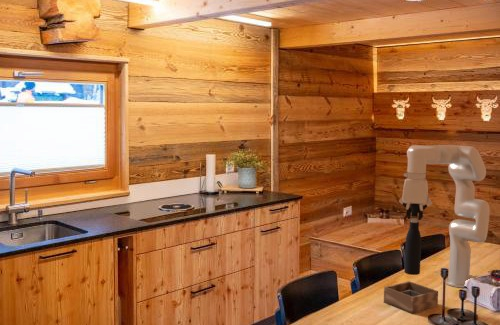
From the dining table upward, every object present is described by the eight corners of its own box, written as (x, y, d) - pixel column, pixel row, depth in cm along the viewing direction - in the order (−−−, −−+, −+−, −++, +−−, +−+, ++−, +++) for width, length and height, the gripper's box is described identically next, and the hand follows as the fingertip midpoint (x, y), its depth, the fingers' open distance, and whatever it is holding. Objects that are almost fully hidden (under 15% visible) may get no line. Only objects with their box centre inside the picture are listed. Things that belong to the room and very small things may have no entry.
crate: (408, 296, 262) (409, 281, 261) (437, 307, 249) (438, 291, 248) (383, 302, 253) (384, 287, 252) (412, 314, 240) (412, 297, 239)
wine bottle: (401, 271, 251) (404, 203, 248) (413, 269, 253) (416, 202, 250) (410, 275, 245) (413, 206, 242) (422, 274, 247) (426, 205, 244)
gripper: (394, 176, 245) (392, 218, 247) (435, 179, 238) (433, 222, 240) (398, 174, 252) (396, 215, 254) (438, 176, 244) (436, 219, 246)
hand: (414, 218), depth 247 cm, fingers closed on wine bottle, 3 cm apart
